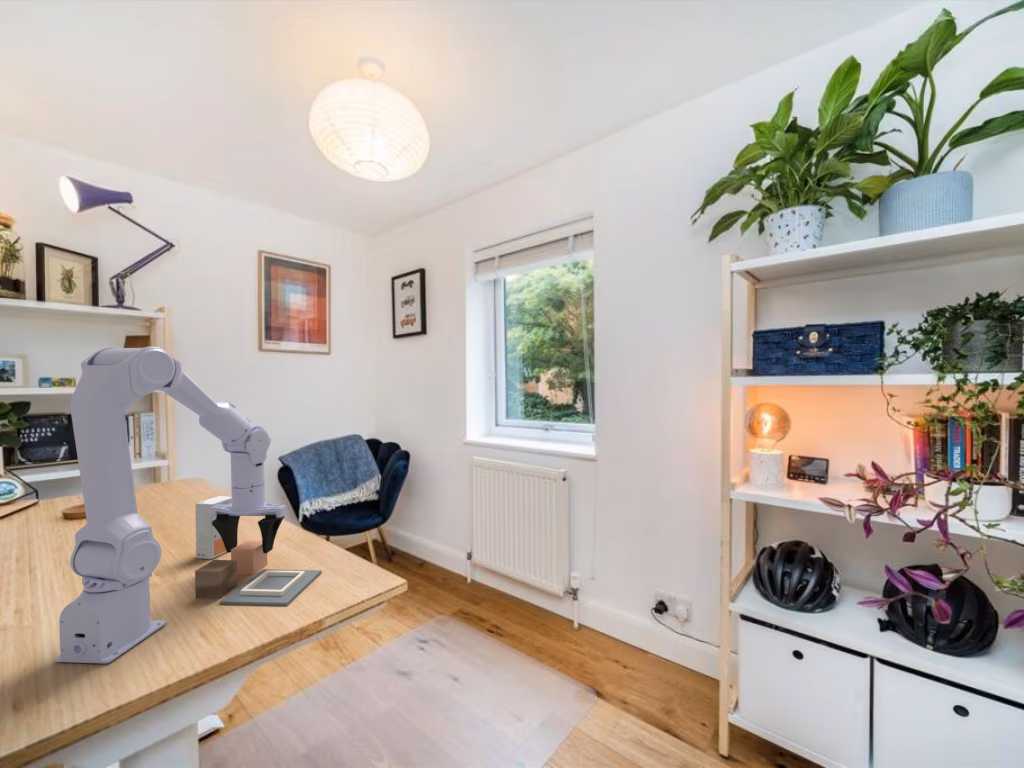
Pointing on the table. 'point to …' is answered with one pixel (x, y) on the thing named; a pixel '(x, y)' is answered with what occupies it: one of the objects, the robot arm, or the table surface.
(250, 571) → the terracotta block
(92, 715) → the table surface
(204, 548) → the skincare box
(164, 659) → the table surface
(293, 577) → the board
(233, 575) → the walnut block
